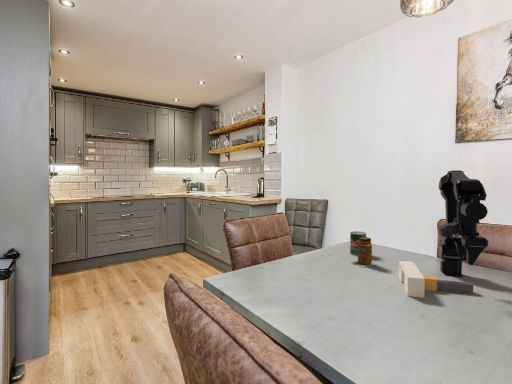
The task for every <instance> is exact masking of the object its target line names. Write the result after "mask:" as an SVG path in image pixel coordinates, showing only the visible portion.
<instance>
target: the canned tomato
mask: <svg viewBox="0 0 512 384" xmlns="http://www.w3.org/2000/svg"><path fill="white" fill-rule="evenodd" d="M349 233H350V234H349V236H350V239H349V240H350V242H349V243H350V245H349V246H350V247H349V248H350V249H349V254H350V255H353V256H358V243H359V238H360V237H367V233H366V232H365V231H358V230H357V231H350V232H349Z"/></svg>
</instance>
